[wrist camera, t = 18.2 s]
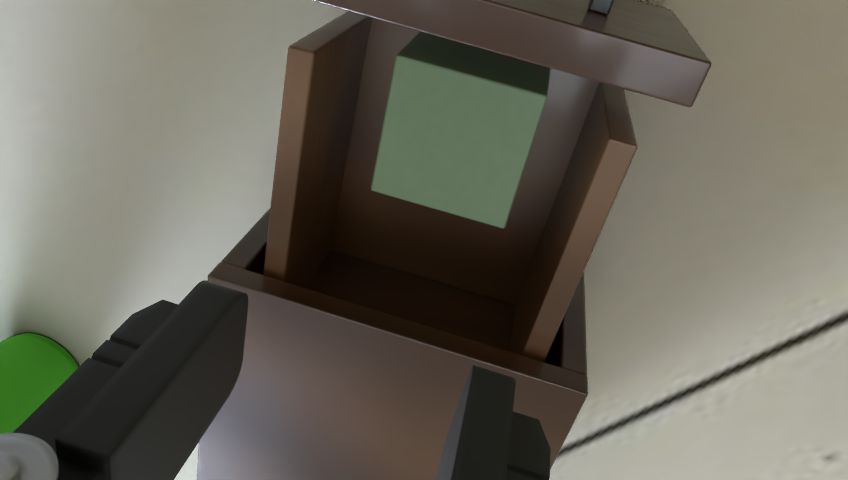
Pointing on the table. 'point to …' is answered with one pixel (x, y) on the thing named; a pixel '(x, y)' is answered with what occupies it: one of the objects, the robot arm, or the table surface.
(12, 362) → the cup
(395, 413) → the cabinet
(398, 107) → the block
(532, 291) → the drawer
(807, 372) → the table surface
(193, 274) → the table surface
